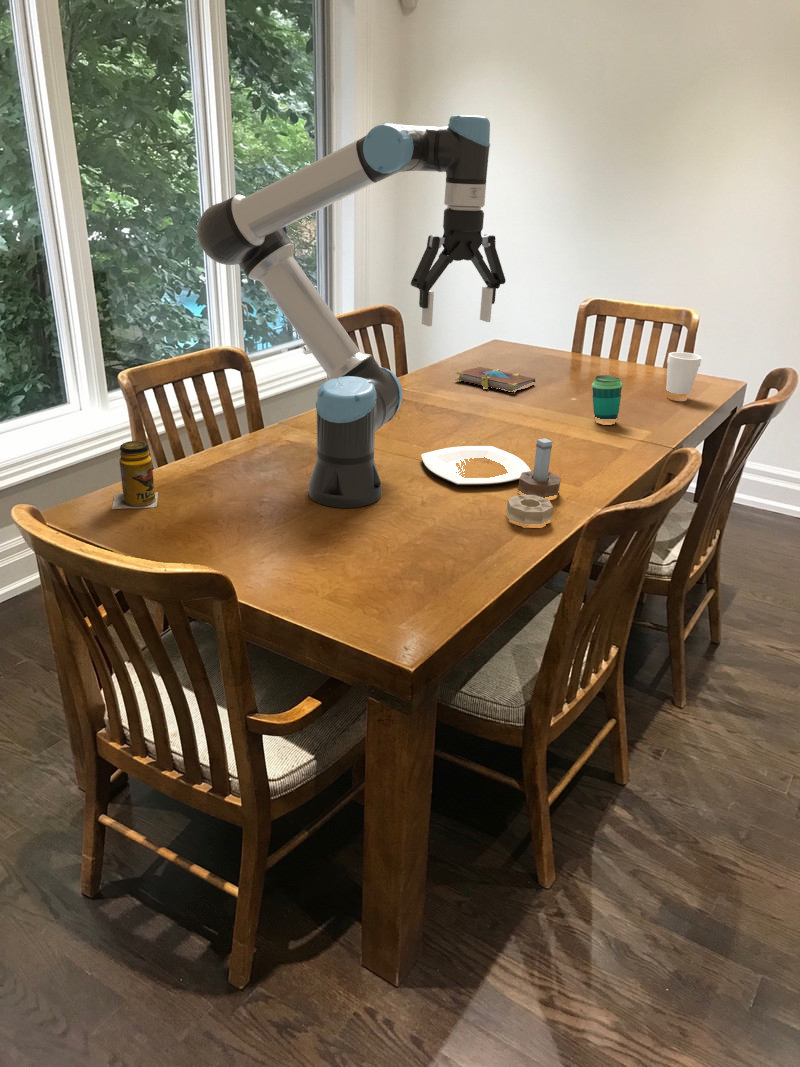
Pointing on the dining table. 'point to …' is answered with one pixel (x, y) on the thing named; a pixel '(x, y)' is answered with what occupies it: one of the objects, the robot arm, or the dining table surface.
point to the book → (494, 378)
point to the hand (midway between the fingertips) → (456, 323)
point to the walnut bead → (539, 485)
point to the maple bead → (529, 509)
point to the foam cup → (682, 371)
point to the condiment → (136, 477)
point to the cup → (606, 396)
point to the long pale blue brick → (542, 459)
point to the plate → (447, 458)
